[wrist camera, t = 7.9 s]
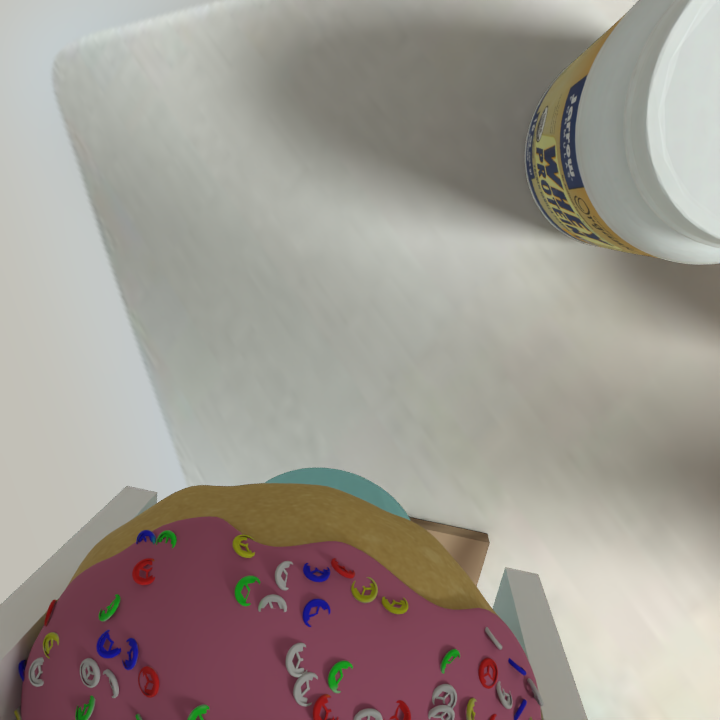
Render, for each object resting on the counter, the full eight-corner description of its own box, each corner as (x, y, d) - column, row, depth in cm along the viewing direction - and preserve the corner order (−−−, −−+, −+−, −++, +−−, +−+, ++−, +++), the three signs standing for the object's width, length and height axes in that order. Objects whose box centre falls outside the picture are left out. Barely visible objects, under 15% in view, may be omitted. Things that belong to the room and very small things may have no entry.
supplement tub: (486, 121, 33) (555, 33, 17) (667, 1, 31) (951, -237, 14) (570, 279, 36) (701, 335, 19) (746, 182, 33) (1069, 151, 17)
